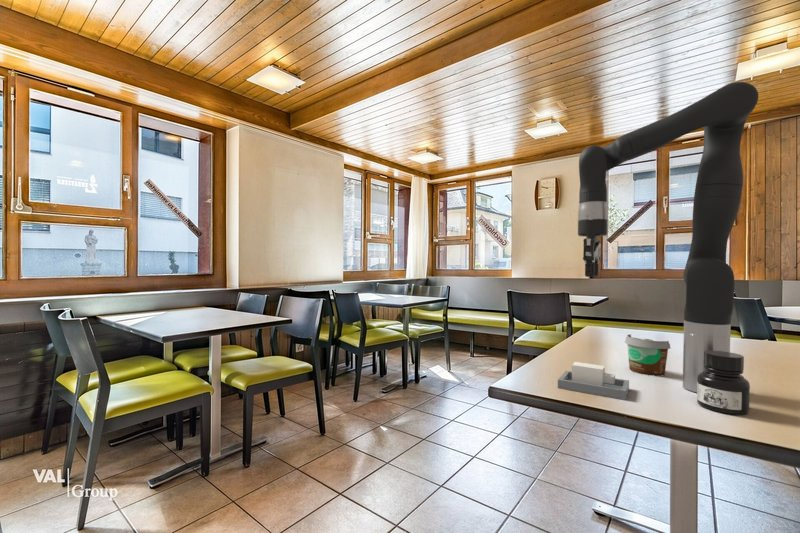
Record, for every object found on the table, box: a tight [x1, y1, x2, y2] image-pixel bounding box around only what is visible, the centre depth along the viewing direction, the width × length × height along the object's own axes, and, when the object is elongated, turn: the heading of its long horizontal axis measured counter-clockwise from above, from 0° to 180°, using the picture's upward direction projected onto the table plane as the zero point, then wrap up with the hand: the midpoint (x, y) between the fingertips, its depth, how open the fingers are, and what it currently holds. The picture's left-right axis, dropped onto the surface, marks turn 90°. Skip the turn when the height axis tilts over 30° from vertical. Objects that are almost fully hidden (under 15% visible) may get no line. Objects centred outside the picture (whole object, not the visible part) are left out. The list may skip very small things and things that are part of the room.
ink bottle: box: [696, 351, 751, 416], centre depth 86 cm, size 10×9×12 cm
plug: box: [571, 361, 616, 386], centre depth 98 cm, size 4×9×5 cm, turn 55°
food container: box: [624, 333, 672, 377], centre depth 114 cm, size 12×6×10 cm, turn 25°
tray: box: [557, 370, 630, 401], centre depth 98 cm, size 15×10×2 cm, turn 56°
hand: (591, 276), depth 110 cm, fingers open, 8 cm apart
